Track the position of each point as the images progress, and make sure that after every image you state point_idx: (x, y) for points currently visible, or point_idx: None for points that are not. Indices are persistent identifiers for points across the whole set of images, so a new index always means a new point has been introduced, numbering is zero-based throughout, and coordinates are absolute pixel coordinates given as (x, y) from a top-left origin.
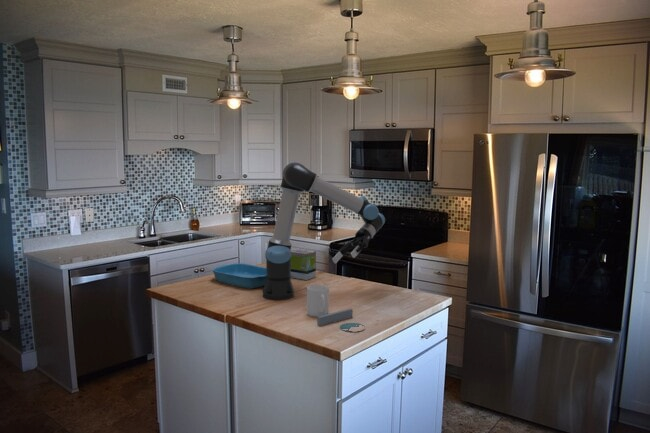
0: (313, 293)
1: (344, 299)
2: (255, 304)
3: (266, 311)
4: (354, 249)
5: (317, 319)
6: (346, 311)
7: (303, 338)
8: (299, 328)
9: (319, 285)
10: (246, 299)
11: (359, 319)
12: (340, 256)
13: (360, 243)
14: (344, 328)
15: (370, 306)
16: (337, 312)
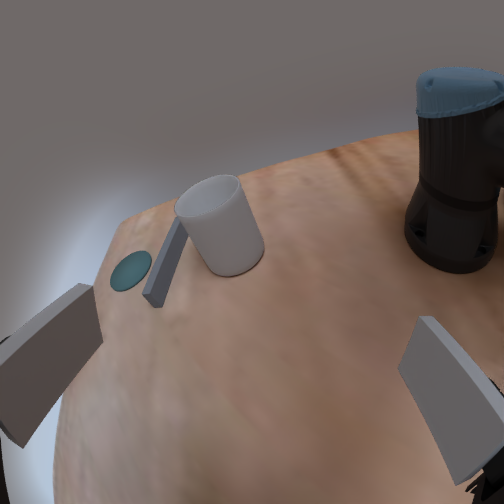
0: (202, 188)
1: (287, 413)
2: (390, 178)
3: (330, 182)
4: (33, 322)
5: None
6: (150, 277)
7: (176, 199)
8: None
9: (221, 205)
10: None
11: (135, 311)
12: (452, 442)
13: None
14: (138, 255)
15: (158, 418)
16: (161, 255)
